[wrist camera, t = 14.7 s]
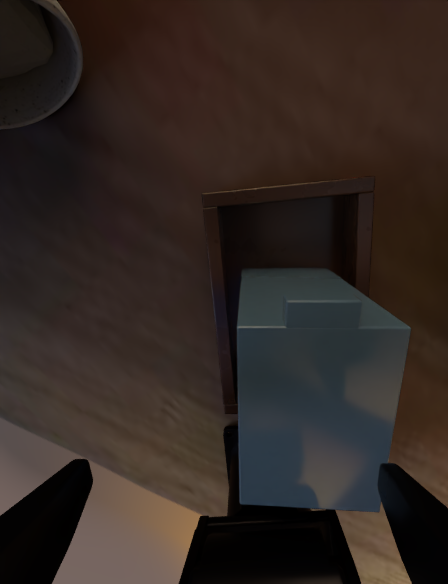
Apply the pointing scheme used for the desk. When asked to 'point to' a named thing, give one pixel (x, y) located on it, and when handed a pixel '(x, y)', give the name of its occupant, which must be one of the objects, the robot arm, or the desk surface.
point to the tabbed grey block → (314, 389)
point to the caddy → (282, 245)
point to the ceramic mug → (36, 60)
